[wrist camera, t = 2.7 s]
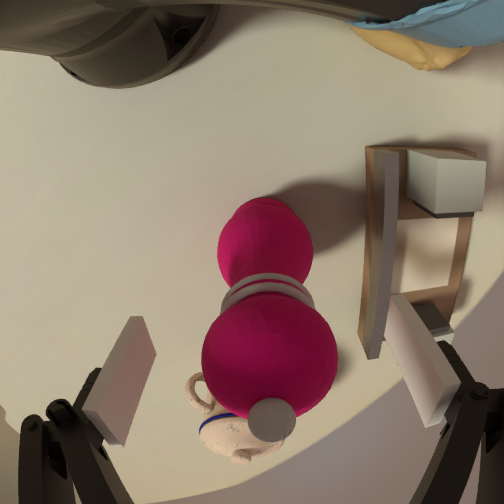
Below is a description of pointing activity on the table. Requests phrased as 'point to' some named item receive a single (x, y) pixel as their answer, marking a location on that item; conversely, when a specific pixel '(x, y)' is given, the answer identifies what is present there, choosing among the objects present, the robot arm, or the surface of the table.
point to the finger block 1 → (445, 182)
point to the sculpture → (412, 49)
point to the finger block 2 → (435, 322)
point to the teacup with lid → (226, 429)
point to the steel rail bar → (382, 248)
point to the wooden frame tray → (417, 247)
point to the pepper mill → (268, 323)
